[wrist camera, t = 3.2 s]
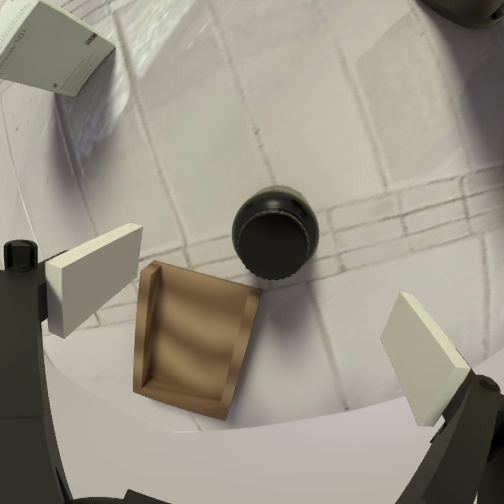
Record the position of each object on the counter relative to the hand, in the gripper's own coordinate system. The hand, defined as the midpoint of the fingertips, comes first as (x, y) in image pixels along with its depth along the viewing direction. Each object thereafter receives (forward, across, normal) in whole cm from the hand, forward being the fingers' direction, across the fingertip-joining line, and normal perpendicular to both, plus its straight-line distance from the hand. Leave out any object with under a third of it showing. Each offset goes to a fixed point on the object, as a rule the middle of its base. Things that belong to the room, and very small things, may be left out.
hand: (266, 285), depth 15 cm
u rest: (+18, -6, -16) cm, 25 cm away
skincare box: (+19, -27, +14) cm, 36 cm away
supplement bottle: (+18, 0, 0) cm, 19 cm away
